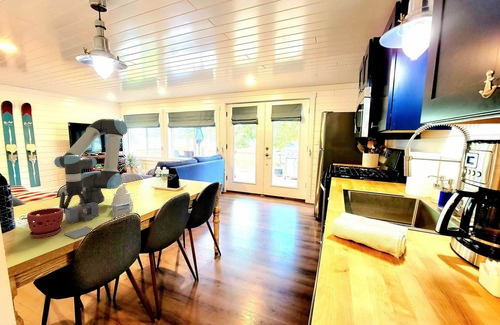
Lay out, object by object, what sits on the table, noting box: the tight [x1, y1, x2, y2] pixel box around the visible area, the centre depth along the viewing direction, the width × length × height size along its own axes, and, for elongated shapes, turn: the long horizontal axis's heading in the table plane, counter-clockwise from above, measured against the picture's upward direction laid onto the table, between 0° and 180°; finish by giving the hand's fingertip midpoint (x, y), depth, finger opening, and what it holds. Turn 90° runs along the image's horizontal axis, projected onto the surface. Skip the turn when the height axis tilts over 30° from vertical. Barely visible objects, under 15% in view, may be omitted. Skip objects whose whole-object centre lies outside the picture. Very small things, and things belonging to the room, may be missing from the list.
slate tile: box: [63, 226, 94, 240], centre depth 109 cm, size 10×10×1 cm
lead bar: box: [78, 212, 94, 222], centre depth 127 cm, size 4×10×3 cm, turn 65°
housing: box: [64, 202, 99, 225], centre depth 127 cm, size 15×5×8 cm, turn 155°
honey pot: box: [111, 182, 134, 213], centre depth 144 cm, size 13×13×18 cm
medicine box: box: [112, 203, 131, 218], centre depth 130 cm, size 8×4×9 cm, turn 148°
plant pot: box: [26, 207, 64, 239], centre depth 107 cm, size 13×13×12 cm
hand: (76, 216), depth 130 cm, fingers open, 8 cm apart
